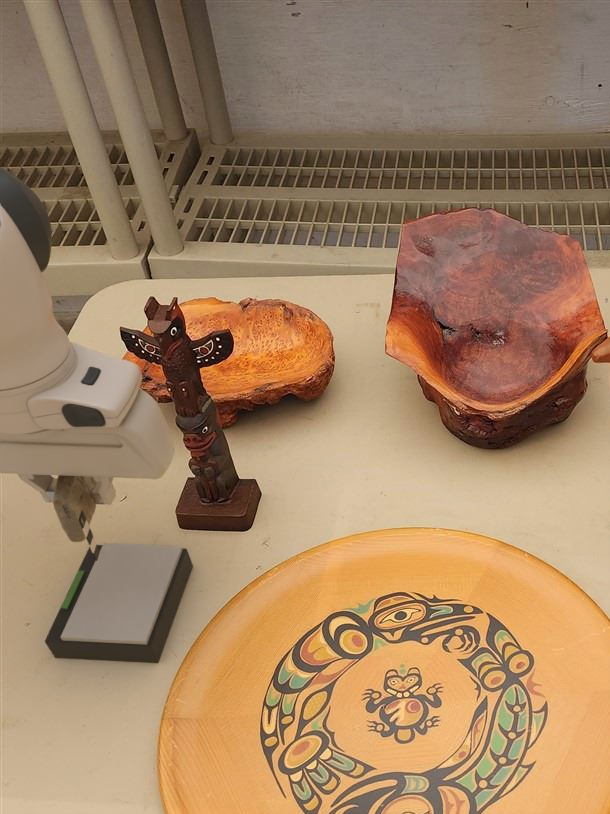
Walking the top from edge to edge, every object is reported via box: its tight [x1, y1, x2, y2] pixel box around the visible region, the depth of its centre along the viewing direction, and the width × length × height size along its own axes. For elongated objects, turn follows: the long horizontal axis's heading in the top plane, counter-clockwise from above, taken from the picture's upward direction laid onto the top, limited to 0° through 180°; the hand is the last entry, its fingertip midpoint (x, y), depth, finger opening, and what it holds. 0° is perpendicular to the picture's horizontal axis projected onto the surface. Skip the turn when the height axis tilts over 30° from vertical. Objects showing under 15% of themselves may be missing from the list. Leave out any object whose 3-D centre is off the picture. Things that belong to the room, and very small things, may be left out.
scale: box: [44, 542, 194, 664], centre depth 92 cm, size 11×13×4 cm
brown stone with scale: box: [52, 475, 100, 561], centre depth 81 cm, size 6×4×12 cm
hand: (82, 498), depth 82 cm, fingers closed on brown stone with scale, 3 cm apart
